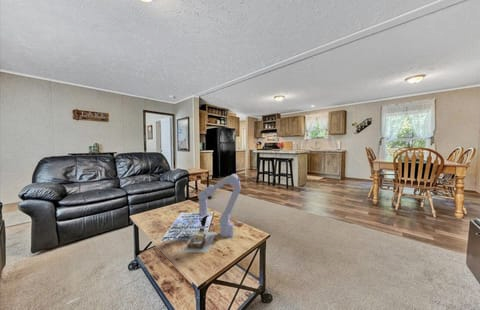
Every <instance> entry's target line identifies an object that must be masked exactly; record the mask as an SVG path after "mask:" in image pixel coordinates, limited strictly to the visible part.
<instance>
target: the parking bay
mask: <svg viewBox="0 0 480 310" xmlns="http://www.w3.org/2000/svg"><path fill="white" fill-rule="evenodd" d="M204 244H205V238H204V239H203V241H202V242H201V244H198V243H194V238H192V239H191V241H190V242H189V244H188V248H195V249H202V248H203V246H204Z"/></svg>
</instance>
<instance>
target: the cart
mask: <svg viewBox="0 0 480 310" xmlns="http://www.w3.org/2000/svg"><path fill="white" fill-rule="evenodd" d="M197 232H198V234H197V237H196V239H197V240H202V241H203V239H204V237H205V236H206V234H205V232H206V231H205V227H199V231H197Z"/></svg>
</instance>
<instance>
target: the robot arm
mask: <svg viewBox="0 0 480 310" xmlns="http://www.w3.org/2000/svg"><path fill="white" fill-rule="evenodd" d="M240 179H241V178H240V177H239V175H238V174H236V173H232V174H230V175H228V176H225V177H224V178H223V179H221V180H220V181H218V182H217V183H215V184H211V185H210V184H209V185H208V186H207V187H206V188H203V189H202V190H201V191H200V192H199V193H198V194H197V198H198V212H197V216H198V221H200V225H201V228H205V226H206V224H207V219H208V217H209V215H208V214H209V213H208V197H210V196H211V195H213V194H215V193H216V192H217V189H219V188H221V187H223V186H224V185H230V186H231V188H232V189H233V190H232V193H231V195H230V198H229V199H228V202H227V204H226V206H225V207H226V208H225V209H224V210H223V212H222V215H221V216H220V217H219V224H220V225H219V227H220V228H219V231H220V233H219V234H220V237H224V238H226V237H229V238H230V239H233V237H234V233H235V231H234V230H235V229H234V228H235V227H234V223H233V222H231V220H230V219H231V215H232V214H231V213H232V211H233V208H234V206H235V204H236V201H237V199H238V197H239V195H240V193H241V190H242V185H241V180H240Z"/></svg>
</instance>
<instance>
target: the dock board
mask: <svg viewBox="0 0 480 310" xmlns="http://www.w3.org/2000/svg"><path fill="white" fill-rule="evenodd" d="M198 232H199V231H194V232H193V233H192V236H191V237H190V239H189V240H188V241H187V243H186V244H185V247H184V248H183V249H182V251H181V252H182V253H209V251H210V250H211V247H212V244H213V243H214V242H213V241H214V239H215V237H216V234H217V231H205V234H206V236H205V237H204V238H205V244H204V246H203V248H202V249H195V248H188V244H189V242H190V241H191V239H192V238H194V243H198V244H201V242H202V240H197V239H196V237H197V234H198Z"/></svg>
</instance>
